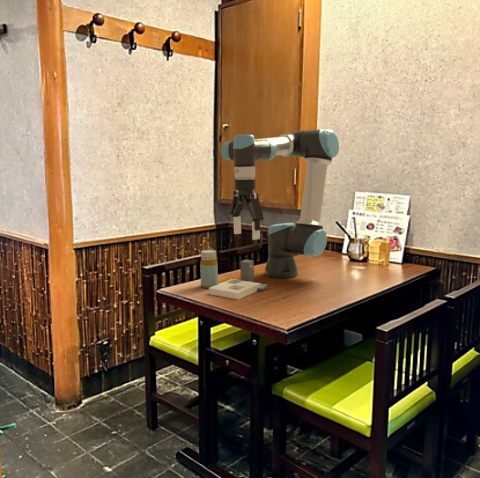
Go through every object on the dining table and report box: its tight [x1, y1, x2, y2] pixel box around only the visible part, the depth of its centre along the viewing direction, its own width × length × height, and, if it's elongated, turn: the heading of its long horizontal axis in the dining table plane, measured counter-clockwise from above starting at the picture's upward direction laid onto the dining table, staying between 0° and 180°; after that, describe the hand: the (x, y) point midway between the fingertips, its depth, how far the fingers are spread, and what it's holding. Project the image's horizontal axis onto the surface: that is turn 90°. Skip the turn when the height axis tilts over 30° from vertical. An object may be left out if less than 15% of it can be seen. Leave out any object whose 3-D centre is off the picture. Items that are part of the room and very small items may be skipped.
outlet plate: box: [208, 278, 262, 300], centre depth 195 cm, size 16×14×3 cm
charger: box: [240, 259, 255, 282], centre depth 206 cm, size 4×4×10 cm
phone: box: [256, 283, 269, 292], centre depth 199 cm, size 7×4×1 cm, turn 161°
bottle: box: [199, 249, 219, 290], centre depth 202 cm, size 7×7×15 cm
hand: (246, 236), depth 180 cm, fingers open, 13 cm apart
